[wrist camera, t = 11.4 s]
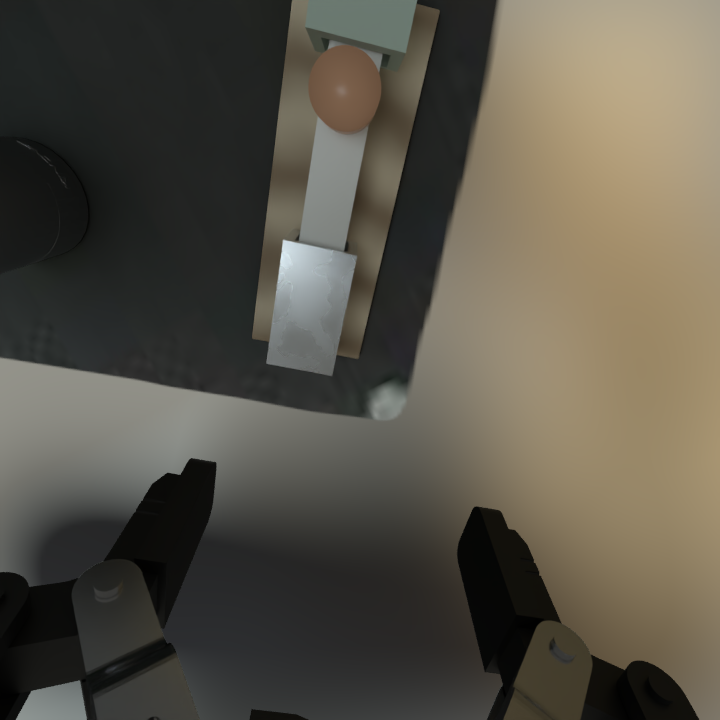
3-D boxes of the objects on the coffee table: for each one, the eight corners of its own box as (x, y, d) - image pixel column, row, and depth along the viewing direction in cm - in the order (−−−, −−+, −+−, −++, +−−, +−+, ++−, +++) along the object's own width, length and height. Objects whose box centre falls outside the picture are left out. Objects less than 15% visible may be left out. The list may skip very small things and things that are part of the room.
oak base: (358, 354, 42) (358, 358, 41) (254, 334, 41) (251, 338, 40) (437, 14, 31) (439, 10, 30) (297, -24, 30) (295, -29, 29)
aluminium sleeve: (335, 349, 41) (331, 375, 36) (277, 338, 40) (266, 363, 35) (357, 242, 37) (357, 255, 32) (293, 228, 36) (283, 239, 31)
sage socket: (397, 72, 32) (405, 53, 26) (315, 51, 31) (305, 26, 25) (410, 9, 30) (422, -26, 24) (324, -14, 30) (315, -56, 24)
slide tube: (344, 266, 37) (340, 295, 29) (296, 256, 36) (280, 282, 29) (393, 20, 30) (405, -27, 22) (335, 4, 29) (326, -49, 22)
